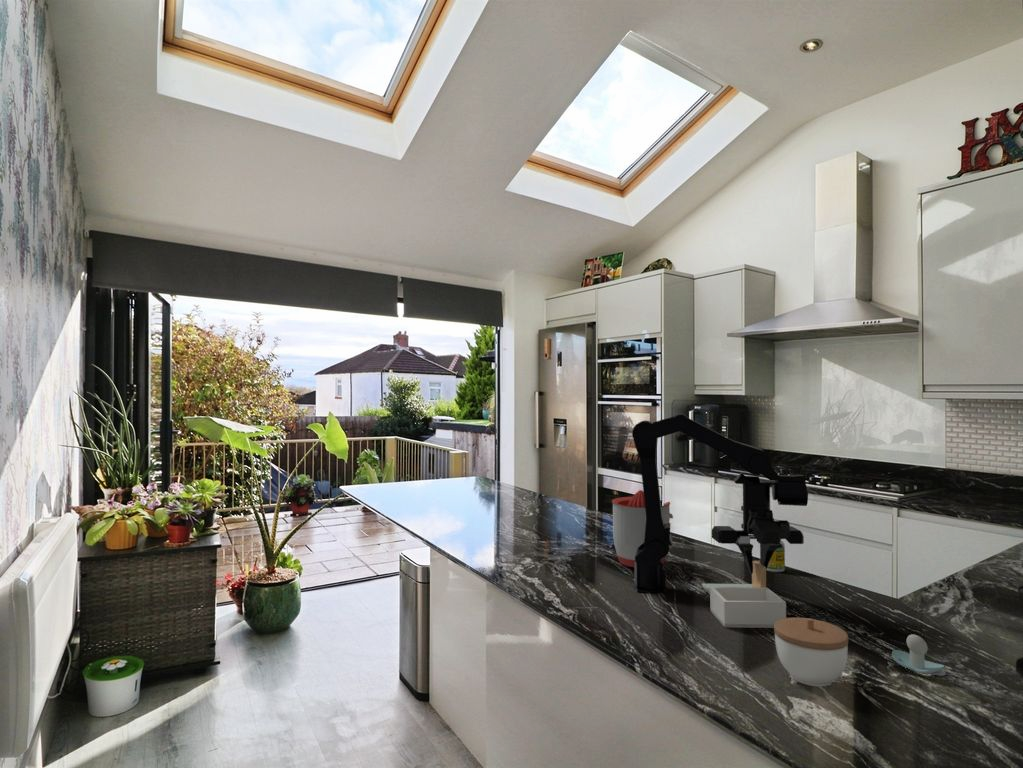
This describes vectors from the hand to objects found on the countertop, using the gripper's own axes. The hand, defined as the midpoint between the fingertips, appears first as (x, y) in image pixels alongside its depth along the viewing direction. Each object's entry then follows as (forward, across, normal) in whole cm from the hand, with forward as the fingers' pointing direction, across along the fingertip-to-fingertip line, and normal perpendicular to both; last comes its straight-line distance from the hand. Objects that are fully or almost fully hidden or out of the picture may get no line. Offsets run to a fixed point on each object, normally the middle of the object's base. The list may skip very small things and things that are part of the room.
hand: (757, 573), depth 133 cm
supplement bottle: (+6, +13, +22) cm, 26 cm away
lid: (+6, -5, 0) cm, 7 cm away
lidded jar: (+6, -6, -38) cm, 39 cm away
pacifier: (+6, +13, -35) cm, 38 cm away
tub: (+6, -7, -13) cm, 16 cm away
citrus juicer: (+6, -20, +27) cm, 34 cm away
